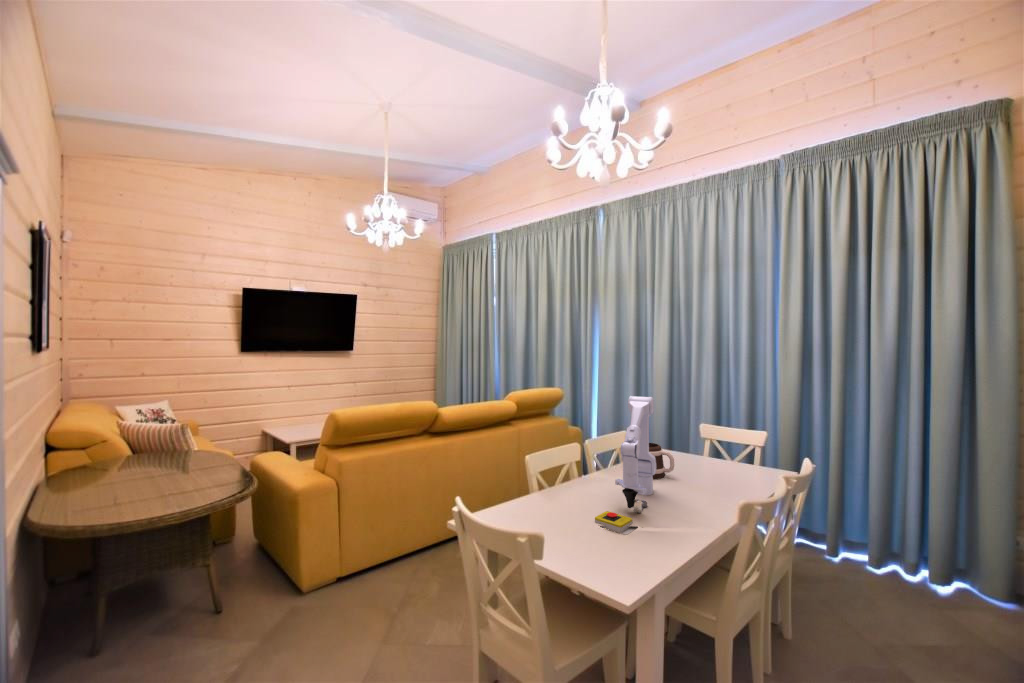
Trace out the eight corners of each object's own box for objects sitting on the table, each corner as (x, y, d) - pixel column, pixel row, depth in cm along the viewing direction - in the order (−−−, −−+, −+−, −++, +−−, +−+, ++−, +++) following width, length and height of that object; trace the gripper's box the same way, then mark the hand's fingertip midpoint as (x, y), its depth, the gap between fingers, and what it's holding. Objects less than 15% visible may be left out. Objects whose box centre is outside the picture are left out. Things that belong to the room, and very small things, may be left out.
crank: (638, 503, 189) (638, 491, 189) (648, 505, 187) (648, 493, 187) (631, 513, 178) (631, 501, 178) (642, 515, 177) (641, 502, 177)
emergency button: (603, 506, 179) (639, 516, 169) (603, 517, 179) (639, 528, 169) (590, 513, 172) (626, 524, 162) (590, 525, 172) (626, 536, 162)
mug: (629, 476, 229) (628, 445, 229) (640, 468, 241) (640, 440, 241) (669, 483, 217) (669, 451, 217) (679, 475, 229) (679, 445, 229)
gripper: (609, 470, 184) (609, 503, 184) (637, 479, 172) (637, 515, 172) (622, 467, 188) (622, 500, 188) (650, 476, 176) (650, 511, 176)
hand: (630, 507), depth 180 cm, fingers closed
